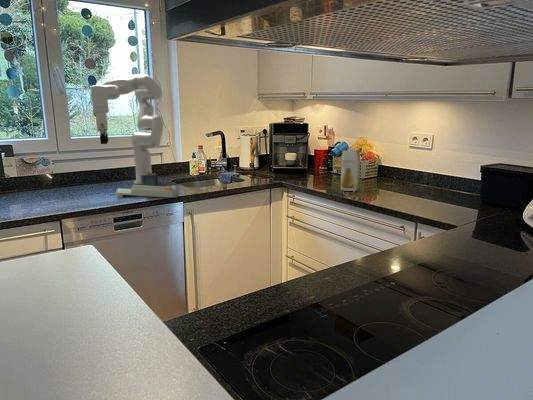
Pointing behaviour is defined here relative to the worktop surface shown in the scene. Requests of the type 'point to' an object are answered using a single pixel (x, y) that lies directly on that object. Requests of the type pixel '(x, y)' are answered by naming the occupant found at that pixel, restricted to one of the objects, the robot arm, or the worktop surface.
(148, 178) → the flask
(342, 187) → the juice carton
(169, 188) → the ball
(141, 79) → the robot arm
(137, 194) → the lane
